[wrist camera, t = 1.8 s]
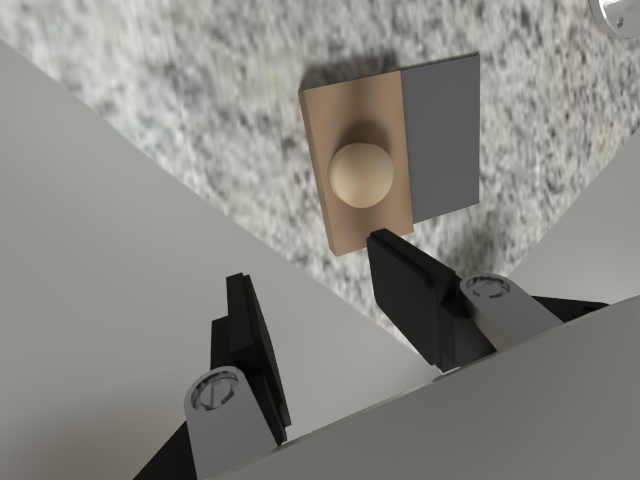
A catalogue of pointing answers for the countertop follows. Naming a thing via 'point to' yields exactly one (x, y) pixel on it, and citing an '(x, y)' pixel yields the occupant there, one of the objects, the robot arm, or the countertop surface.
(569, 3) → the countertop surface
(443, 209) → the rubber mat
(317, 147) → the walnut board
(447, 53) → the countertop surface
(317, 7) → the countertop surface
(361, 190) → the cream dome knob
